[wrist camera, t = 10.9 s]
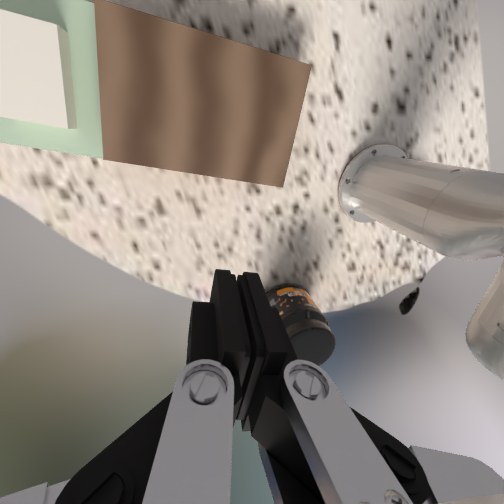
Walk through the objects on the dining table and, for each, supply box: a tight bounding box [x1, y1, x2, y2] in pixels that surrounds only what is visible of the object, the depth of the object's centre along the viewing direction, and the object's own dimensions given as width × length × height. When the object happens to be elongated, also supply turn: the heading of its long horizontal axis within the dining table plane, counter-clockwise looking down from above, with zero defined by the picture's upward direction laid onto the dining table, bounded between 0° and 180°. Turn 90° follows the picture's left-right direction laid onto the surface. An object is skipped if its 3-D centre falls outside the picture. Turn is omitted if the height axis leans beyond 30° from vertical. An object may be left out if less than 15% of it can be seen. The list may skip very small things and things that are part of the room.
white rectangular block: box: [0, 9, 77, 129], centre depth 26 cm, size 6×9×2 cm, turn 168°
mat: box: [0, 0, 103, 159], centre depth 27 cm, size 12×15×1 cm
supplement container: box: [266, 284, 336, 366], centre depth 44 cm, size 10×10×12 cm
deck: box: [94, 0, 312, 187], centre depth 30 cm, size 22×14×4 cm, turn 78°
